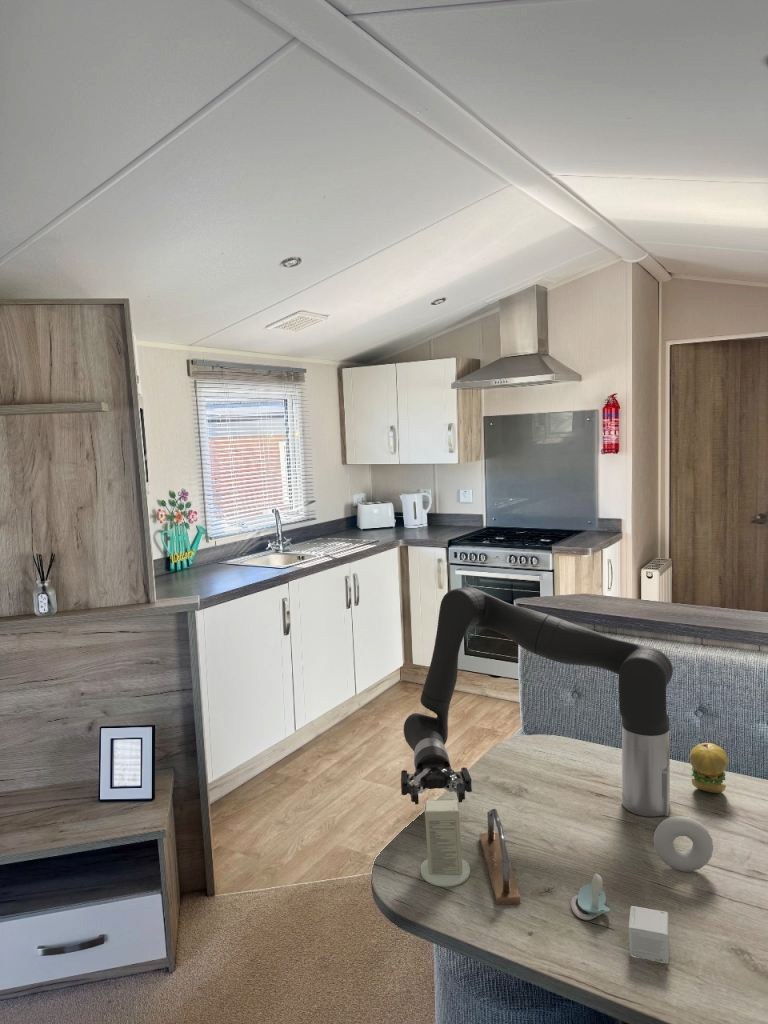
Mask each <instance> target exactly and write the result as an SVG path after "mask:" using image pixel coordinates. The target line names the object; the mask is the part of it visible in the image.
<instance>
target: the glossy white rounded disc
mask: <svg viewBox="0 0 768 1024" xmlns="http://www.w3.org/2000/svg"><path fill="white" fill-rule="evenodd" d="M420 875H421V877H422V879H423V880H424V881H425V882H427V883H428V884H431V885H432V886H437V887H443V888H452V887H456V886H459V885H461V884H463V883H465V882H466V881H467V880H468V879H469V878H470V876H471V866H470V865H469V863H468V862H467V861H466V860H465V859H463V858H462V874H443V875H430V874H429V870H428V858H426V859H425V860H424V861H423V862H422V864H421V865H420Z"/></svg>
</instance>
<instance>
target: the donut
mask: <svg viewBox="0 0 768 1024" xmlns="http://www.w3.org/2000/svg"><path fill="white" fill-rule="evenodd" d="M678 837H679V838H680V837H687V838H688V839H690V841H692V847H691V848H690V849H688V850H683V851H682V850H679V849H677V848H676V847H675V845H674V842H675V840H676V839H677V838H678ZM713 842H714V841H713V838H712V836H711V834H710V833H709V831H708V828H706V827H705V826H704V824H702V823H701V822H700V821H698V820H696V819H694V818H692V817H689V816H684V815H674V816H671V817H668V818H666V819H664V820H662V822H660V823H659V824H658V825H657V827H656V829H655V831H654V834H653V846H654V850H655V852H656V854H657V856H658V858H659V859H660V860H661V861H662V862H663V863H664V864H665V865H666V866H668V867H669V868H672V869H673V870H677V871H680V872H684V873H685V872H687V873H688V872H696V871H699V870H701V869H702V868H703V867H704V866H706V865H707V864H708V863H709V861H710V860H711V858H712V857H713V852H714V843H713Z"/></svg>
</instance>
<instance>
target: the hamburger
mask: <svg viewBox="0 0 768 1024" xmlns="http://www.w3.org/2000/svg"><path fill="white" fill-rule="evenodd" d="M689 761H690V765H691V772H692V773H691V776H692V778H691V784H692V785H693V786H694V788H696V789H697V790H701V791H703V792H707V793H712V794H713V793H714V794H715V793H716V794H720V793H722V792H725V790H726V788H727V785H726V784H724V783H723V782H724V781H726V769H727V768H728V765H729V758H728V755H727V753H726V751H725V750H724V749H723V748H722V747H721V746H719V745H717V744H715V743H712V742H711V743H710V742H703V743H698V744H696V745H695V746H694V747H692V749H691V750H690V753H689Z"/></svg>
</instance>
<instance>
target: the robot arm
mask: <svg viewBox="0 0 768 1024" xmlns="http://www.w3.org/2000/svg"><path fill="white" fill-rule="evenodd" d="M439 605H440V606H439V611H438V612H439V613H438V620H437V628H436V634H435V640H434V647H433V652H432V657H431V661H430V665H429V668H428V672H427V675H426V678H425V682H424V685H423V688H422V692H421V696H420V704H421V705H422V707H424V708H426V709H427V710H428V711H431V712H432V713H434V714H436V717H433V716H430V715H426V714H422V713H418V712H417V713H416V712H414V713H412V714H410V715H408V716H407V717H406V719H405V721H404V724H403V737H404V739H405V742H406V744H407V745H408V746H409V747H410V748H411V750H412V751H413V761H414V762H413V765H414V769H415V770H414V773H409V772H408V770H405V769H403V770H401V773H400V775H401V776H400V790H401V791H400V792H401V793H400V794H401V795H402V796H407V795H408V794H409V795H410V802H412V803H414V805H419V804H420V803H419V794H424V793H425V792H426V791H427V790H434V789H443V790H446V791H448V792H450V793H453V792H454V793H456V797H457V800H458V802H459V803H463V801H465V799H466V793H471V792H472V791H473V788H472V781H473V780H472V777H471V775H470V773H469V770H468V768H467V767H461V768H460V771H455V770H454V769H452V766H451V763H450V759H449V753H448V751H447V749H446V746H445V745H446V743H447V741H448V736H449V732H448V731H449V728H448V727H449V711H450V705H451V702H452V698H453V694H454V691H455V689H456V684H457V679H458V673H459V666H458V665H459V664H458V663H459V653H460V649H461V645H462V642H463V640H464V637H465V635H466V633H467V631H468V628H470V627H479V628H482V629H487V630H489V631H493V632H496V633H499V634H502V635H503V636H505V637H507V638H509V639H510V640H511V641H513V642H514V643H515V644H516V645H518V646H519V647H521V648H522V649H524V650H526V651H527V652H529V653H532V654H534V655H536V656H539V657H542V658H544V659H547V660H550V661H553V662H556V663H560V664H564V665H565V664H566V665H571V666H572V665H574V666H583V667H594V668H599V669H603V670H606V671H609V672H612V673H614V674H617V675H618V705H619V714H620V717H621V738H622V739H621V751H622V752H621V753H622V754H621V756H622V757H621V759H622V760H621V761H622V763H621V765H622V766H621V773H622V776H621V777H622V778H621V779H622V780H621V782H622V787H621V788H622V789H621V790H622V791H621V792H622V793H621V795H622V796H621V797H622V800H621V801H622V806H623V807H624V808H625V810H628V812H631V813H632V814H635V815H638V816H642V817H643V816H644V817H653V818H654V817H660V816H665V817H668V816H669V813H670V803H671V801H670V800H671V798H670V797H671V760H670V716H669V715H668V713H667V686H668V685H669V683H670V682H671V679H672V677H673V673H674V668H673V664H672V662H671V660H670V658H669V657H668V656H667V655H666V654H665V653H664V652H663V651H661V650H659V649H657V648H656V647H652V646H648V645H644V644H639V643H635V642H632V641H628V640H622V639H619V638H616V637H612V636H608V635H606V634H604V633H601V632H597V631H596V630H592V629H590V628H587V627H584V626H581V625H579V624H575V623H572V622H570V621H568V620H566V619H563V618H560V617H556V616H553V615H550V614H547V613H543V612H541V611H538V610H534V609H530V608H527V607H522V606H518V605H515V604H511V603H509V602H506V601H504V600H502V599H499V598H497V597H495V596H493V595H491V594H489V593H487V592H485V591H483V590H480V589H477V588H475V587H472V586H463V587H459V588H454V589H451V590H449V591H448V592H446V593H445V594H444V595H443V597H442V599H441V601H440V604H439Z"/></svg>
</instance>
